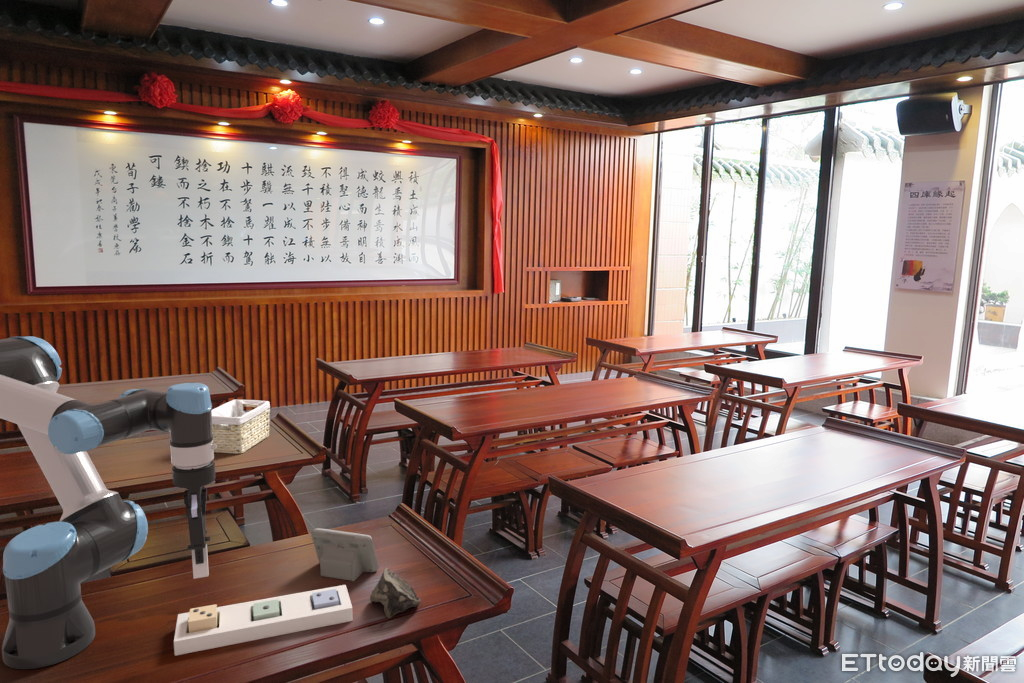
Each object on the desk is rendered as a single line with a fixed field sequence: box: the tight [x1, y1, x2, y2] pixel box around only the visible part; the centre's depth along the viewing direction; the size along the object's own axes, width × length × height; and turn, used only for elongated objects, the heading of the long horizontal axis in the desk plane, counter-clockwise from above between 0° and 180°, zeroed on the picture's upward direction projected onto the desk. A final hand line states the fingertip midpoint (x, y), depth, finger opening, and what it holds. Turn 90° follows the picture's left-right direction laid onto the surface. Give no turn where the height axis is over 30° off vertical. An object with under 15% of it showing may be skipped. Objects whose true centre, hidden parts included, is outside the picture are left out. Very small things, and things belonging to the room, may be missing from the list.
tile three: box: [188, 603, 218, 633], centre depth 136 cm, size 5×5×4 cm
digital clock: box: [310, 527, 380, 582], centre depth 162 cm, size 16×9×11 cm, turn 64°
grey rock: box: [369, 567, 421, 619], centre depth 148 cm, size 11×9×10 cm
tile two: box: [312, 589, 339, 610], centre depth 145 cm, size 5×5×4 cm
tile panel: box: [173, 584, 354, 656], centre depth 141 cm, size 34×10×3 cm, turn 112°
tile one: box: [253, 599, 281, 621], centre depth 140 cm, size 5×5×4 cm
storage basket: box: [212, 399, 271, 455], centre depth 255 cm, size 24×16×15 cm
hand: (201, 575), depth 134 cm, fingers closed
